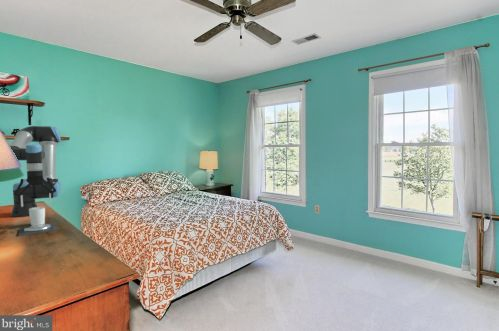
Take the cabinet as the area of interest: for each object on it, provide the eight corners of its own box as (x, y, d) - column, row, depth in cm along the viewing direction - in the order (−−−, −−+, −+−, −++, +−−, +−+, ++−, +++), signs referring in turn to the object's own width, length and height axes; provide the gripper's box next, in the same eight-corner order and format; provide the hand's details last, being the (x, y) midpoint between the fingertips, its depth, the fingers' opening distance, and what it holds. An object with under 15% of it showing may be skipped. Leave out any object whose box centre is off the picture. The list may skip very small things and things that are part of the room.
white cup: (27, 225, 164) (26, 208, 163) (41, 221, 171) (41, 206, 170) (33, 226, 160) (32, 210, 160) (48, 223, 167) (47, 207, 167)
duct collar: (20, 229, 155) (20, 226, 154) (54, 224, 164) (54, 221, 164) (18, 236, 144) (18, 232, 143) (55, 230, 153) (55, 227, 153)
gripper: (6, 171, 153) (8, 208, 154) (60, 169, 168) (61, 203, 169) (7, 171, 159) (10, 206, 160) (59, 169, 174) (61, 201, 175)
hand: (36, 205), depth 165 cm, fingers open, 13 cm apart
